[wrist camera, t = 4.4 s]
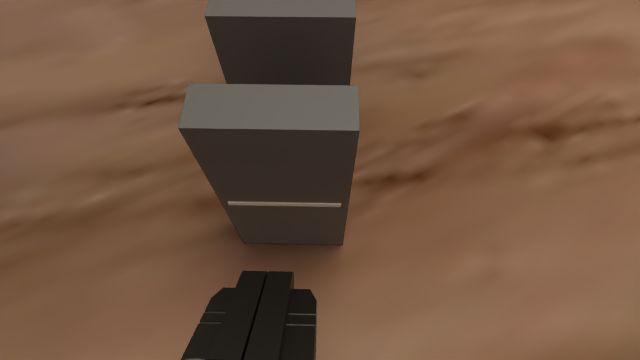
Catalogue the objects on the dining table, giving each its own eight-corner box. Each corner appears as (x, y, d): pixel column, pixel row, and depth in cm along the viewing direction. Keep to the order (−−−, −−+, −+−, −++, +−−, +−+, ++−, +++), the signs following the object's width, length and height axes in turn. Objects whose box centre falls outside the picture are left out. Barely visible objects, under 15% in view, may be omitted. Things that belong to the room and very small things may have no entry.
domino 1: (342, 167, 21) (355, 18, 13) (253, 166, 21) (204, 17, 13) (342, 142, 22) (354, -16, 13) (256, 141, 22) (212, -17, 13)
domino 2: (342, 246, 19) (359, 132, 10) (244, 243, 19) (177, 129, 10) (342, 214, 20) (358, 84, 11) (247, 212, 20) (188, 82, 11)
